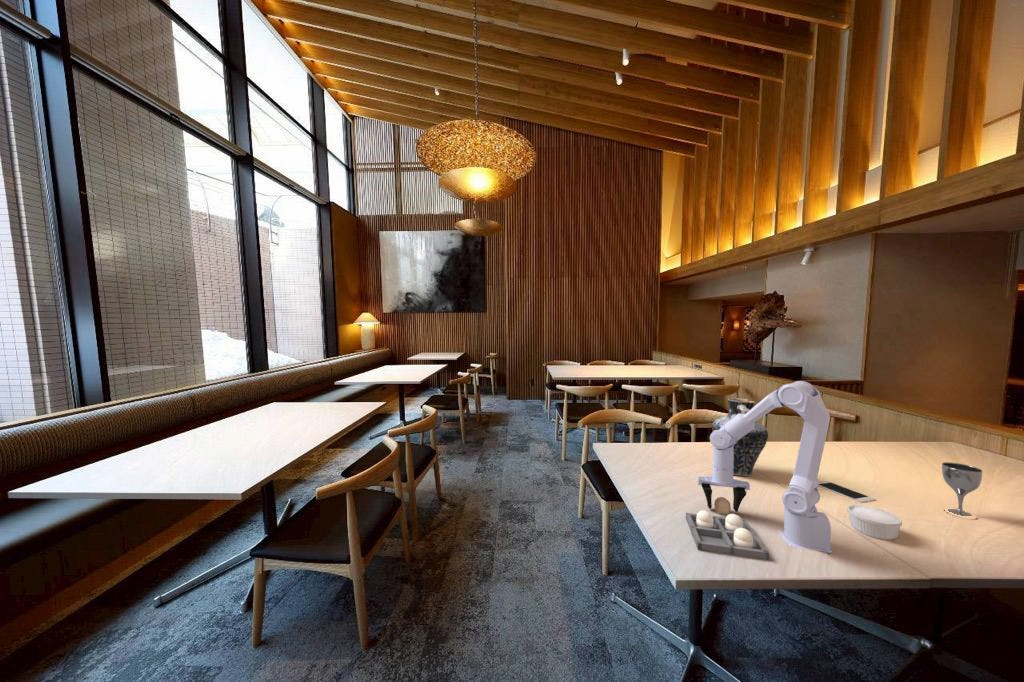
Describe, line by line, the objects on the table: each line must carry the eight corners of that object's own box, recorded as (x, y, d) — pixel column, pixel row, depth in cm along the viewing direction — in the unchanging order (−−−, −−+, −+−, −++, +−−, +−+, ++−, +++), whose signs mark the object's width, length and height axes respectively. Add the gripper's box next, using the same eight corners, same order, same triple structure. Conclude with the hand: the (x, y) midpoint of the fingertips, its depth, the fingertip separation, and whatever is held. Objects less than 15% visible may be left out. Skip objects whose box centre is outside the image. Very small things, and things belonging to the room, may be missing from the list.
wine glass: (935, 510, 115) (937, 464, 115) (946, 505, 118) (948, 460, 118) (974, 522, 108) (976, 473, 108) (985, 517, 111) (987, 469, 111)
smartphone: (861, 504, 121) (861, 501, 121) (812, 484, 136) (812, 482, 136) (876, 501, 122) (876, 498, 122) (826, 482, 137) (826, 480, 137)
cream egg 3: (749, 543, 97) (749, 525, 97) (755, 553, 93) (756, 534, 93) (731, 541, 98) (731, 523, 98) (736, 550, 94) (736, 532, 94)
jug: (705, 461, 159) (705, 394, 158) (753, 464, 155) (754, 395, 154) (722, 481, 139) (723, 404, 138) (779, 485, 135) (780, 405, 134)
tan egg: (727, 510, 116) (728, 495, 116) (732, 517, 112) (732, 501, 112) (712, 508, 117) (713, 493, 117) (716, 515, 113) (716, 500, 113)
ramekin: (845, 517, 112) (845, 500, 112) (897, 529, 105) (897, 512, 105) (848, 533, 103) (848, 515, 103) (905, 547, 96) (906, 528, 96)
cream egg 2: (740, 528, 104) (740, 511, 104) (745, 537, 100) (745, 519, 100) (723, 526, 106) (723, 509, 105) (727, 534, 101) (727, 517, 101)
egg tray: (745, 528, 106) (745, 520, 106) (768, 562, 90) (768, 553, 90) (685, 520, 110) (685, 512, 110) (697, 551, 95) (697, 542, 95)
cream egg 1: (711, 525, 106) (711, 508, 106) (715, 533, 102) (715, 516, 102) (694, 523, 108) (694, 506, 107) (698, 530, 103) (698, 513, 103)
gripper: (744, 464, 116) (743, 505, 116) (695, 460, 120) (694, 500, 120) (752, 472, 109) (751, 516, 110) (700, 467, 113) (699, 510, 114)
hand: (722, 508), depth 115 cm, fingers open, 7 cm apart
